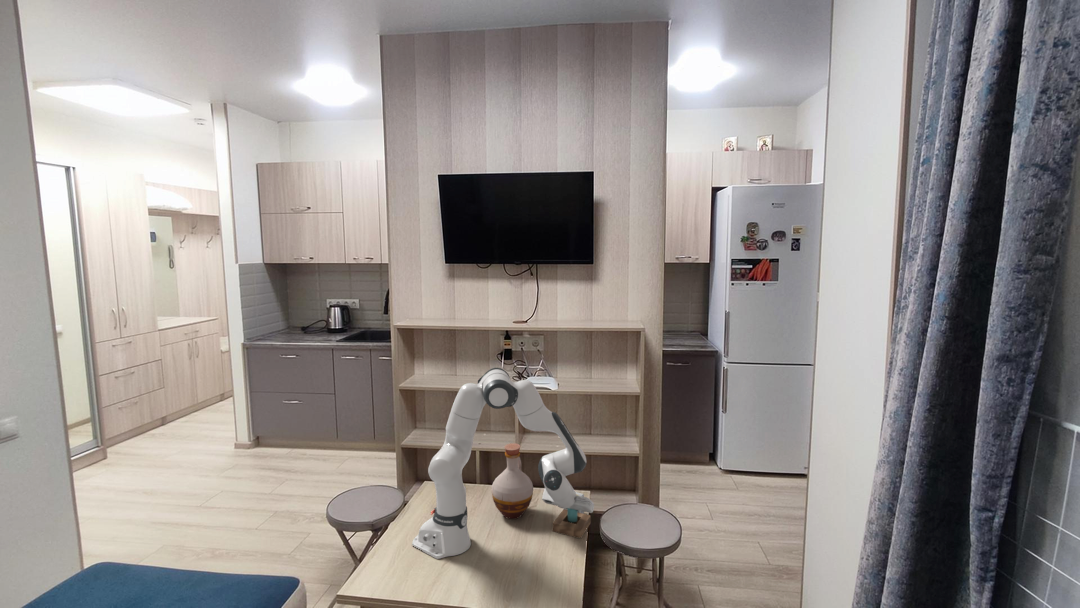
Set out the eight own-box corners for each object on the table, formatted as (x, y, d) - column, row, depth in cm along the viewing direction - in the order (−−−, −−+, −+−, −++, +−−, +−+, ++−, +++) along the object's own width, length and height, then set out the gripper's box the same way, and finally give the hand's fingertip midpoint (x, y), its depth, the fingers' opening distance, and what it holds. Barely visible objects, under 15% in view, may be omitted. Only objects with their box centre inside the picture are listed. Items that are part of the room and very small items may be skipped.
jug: (501, 499, 215) (501, 435, 213) (539, 505, 210) (539, 439, 208) (485, 521, 196) (484, 451, 194) (526, 528, 191) (526, 456, 189)
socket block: (552, 531, 189) (552, 522, 188) (563, 517, 200) (563, 509, 199) (580, 538, 184) (580, 529, 183) (590, 523, 195) (590, 515, 194)
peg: (566, 521, 190) (566, 502, 190) (569, 516, 194) (569, 497, 193) (575, 523, 189) (575, 504, 188) (578, 518, 192) (578, 499, 192)
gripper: (591, 492, 180) (599, 505, 189) (542, 482, 188) (552, 496, 198) (587, 509, 176) (595, 521, 185) (538, 498, 184) (548, 511, 194)
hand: (572, 508), depth 192 cm, fingers closed on peg, 4 cm apart
